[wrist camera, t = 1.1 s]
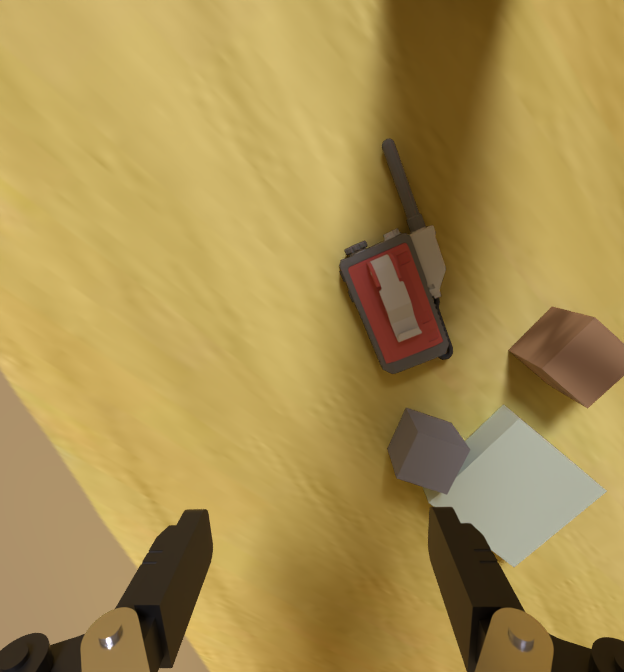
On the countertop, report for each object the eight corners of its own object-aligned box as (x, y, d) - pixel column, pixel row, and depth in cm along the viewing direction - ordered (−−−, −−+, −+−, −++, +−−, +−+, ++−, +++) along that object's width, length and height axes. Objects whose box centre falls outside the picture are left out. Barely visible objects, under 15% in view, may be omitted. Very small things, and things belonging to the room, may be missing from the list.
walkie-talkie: (467, 344, 34) (395, 138, 30) (487, 357, 30) (406, 120, 26) (383, 377, 36) (302, 183, 31) (391, 394, 31) (298, 172, 27)
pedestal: (503, 404, 35) (519, 418, 32) (584, 472, 37) (607, 491, 34) (420, 483, 38) (428, 502, 35) (500, 543, 39) (514, 567, 37)
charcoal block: (405, 407, 36) (418, 432, 31) (451, 422, 36) (470, 449, 31) (387, 448, 37) (396, 478, 32) (431, 462, 37) (447, 494, 33)
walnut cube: (551, 306, 33) (595, 317, 28) (591, 342, 34) (641, 359, 28) (507, 349, 34) (541, 368, 29) (547, 383, 35) (587, 408, 30)
